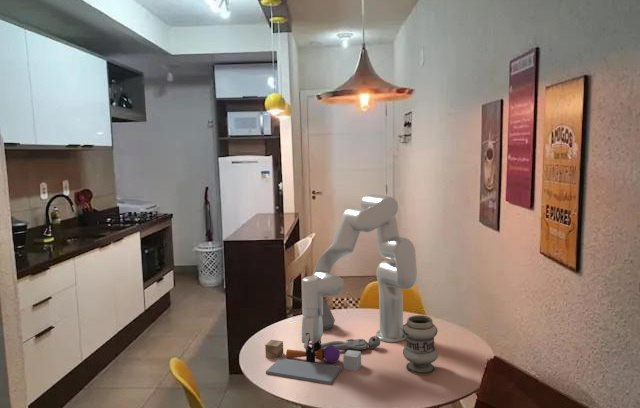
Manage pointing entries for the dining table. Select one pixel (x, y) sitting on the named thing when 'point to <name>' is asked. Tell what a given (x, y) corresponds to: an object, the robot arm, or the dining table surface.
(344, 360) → the grey block
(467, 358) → the dining table surface
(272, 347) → the walnut block
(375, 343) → the alien figure
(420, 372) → the apothecary jar
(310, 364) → the charcoal mat
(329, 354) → the kendama
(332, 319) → the coffee pot
